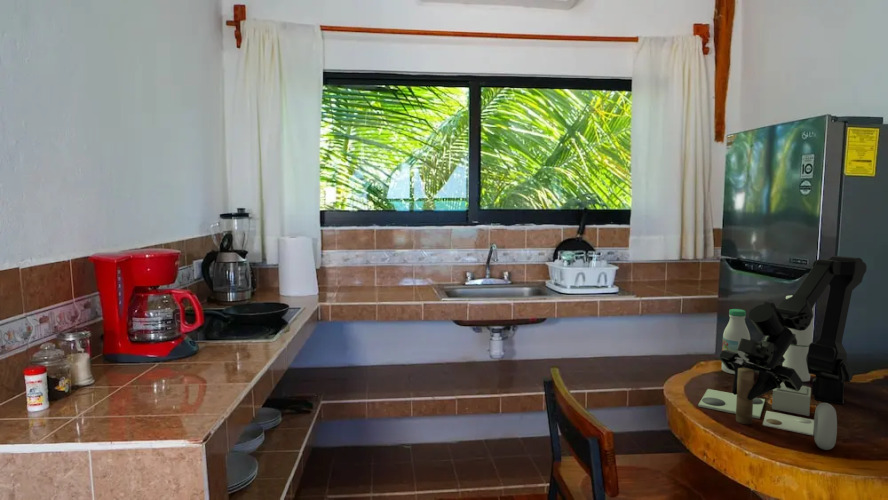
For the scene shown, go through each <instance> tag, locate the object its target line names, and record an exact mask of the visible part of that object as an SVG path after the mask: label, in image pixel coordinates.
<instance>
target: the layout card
mask: <svg viewBox="0 0 888 500" xmlns="http://www.w3.org/2000/svg"><path fill="white" fill-rule="evenodd" d="M762 426H764V427H769V428H774V429H778V430H779V429H780V430H783V431H788V432H794V433H798V434H803V435H808V436H812V437H814V419H812V418H806V417H801V416H795V415H792V414H785V413H781V412H775V411H769V410H766V411H765V415H764V419H763V422H762Z"/></svg>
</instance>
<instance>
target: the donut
mask: <svg viewBox="0 0 888 500" xmlns="http://www.w3.org/2000/svg"><path fill="white" fill-rule="evenodd" d="M837 418H838V417H837V411H836V408H835V407H834V406H833V405H832V404H830V403H828V402H820V403H819V404H817V406H816V407H815V412H814V416H813V420H814V430H813V439H814V442H815V444H816V446H817V447H818V448H819V449H821V450H823V451H829V450H833V448H835V445H836V443H837V442H836V441H837V435H838V433H837V432H838V419H837Z"/></svg>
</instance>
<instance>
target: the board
mask: <svg viewBox="0 0 888 500" xmlns="http://www.w3.org/2000/svg"><path fill="white" fill-rule="evenodd" d="M736 402H737V394H736V395H734V394H733V393H732V392H727V391H726V392H725V391H721V390H715V389H711V388H707V389H706V391H705V393H704V394H703V396H702V398H701V400H699V403H698V405H697V406H698V407H699V408H704V409H710V410H714V411H720V412H723V413H724V412H725V413H728V414H729V413H730V414H735V415H736ZM765 402H766V399H765V398H760V397H756V398H754V399H753V413H752V419H759V420H760V419H761V415H762V412H763V409H764V405H765Z"/></svg>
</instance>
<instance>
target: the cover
mask: <svg viewBox="0 0 888 500" xmlns="http://www.w3.org/2000/svg"><path fill="white" fill-rule="evenodd" d="M780 386H781V388H780V389H779V388H776V389H773V390H772V397H771V399H772V401H771V402H772V403H771V409H772V410H776V411H780V412H785V413H786V412H787V413H791V414H797V415H803V416H807V417H810V410H811V395H812V388H811V387H809V386H807V385H802V387H801V388H800V390H799V391H795V390H792V389H788V388H786V386H785V384H784V381H782V383H781V384H780Z"/></svg>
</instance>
